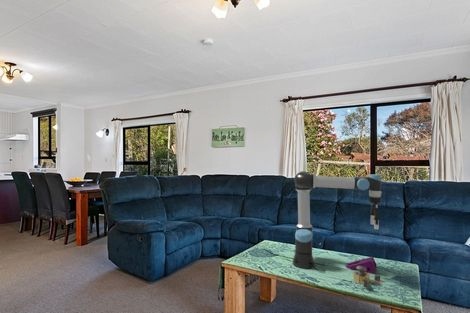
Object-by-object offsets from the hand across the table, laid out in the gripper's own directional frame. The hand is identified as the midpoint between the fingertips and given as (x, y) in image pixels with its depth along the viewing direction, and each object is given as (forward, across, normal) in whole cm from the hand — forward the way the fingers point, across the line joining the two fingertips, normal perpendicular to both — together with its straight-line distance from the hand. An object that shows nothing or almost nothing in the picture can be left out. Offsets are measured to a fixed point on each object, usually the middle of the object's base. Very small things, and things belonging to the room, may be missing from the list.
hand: (374, 226), depth 196 cm
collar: (+26, -36, +12) cm, 46 cm away
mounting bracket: (+28, -13, +10) cm, 32 cm away
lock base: (+27, -32, +12) cm, 44 cm away
